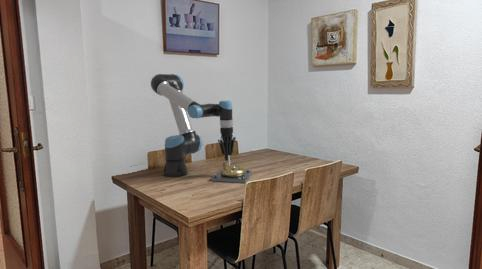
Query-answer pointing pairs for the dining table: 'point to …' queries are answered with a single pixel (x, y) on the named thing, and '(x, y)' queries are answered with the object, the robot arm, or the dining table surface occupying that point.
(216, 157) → the dining table surface
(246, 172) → the plate
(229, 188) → the dining table surface
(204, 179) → the dining table surface
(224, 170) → the three-jaw lathe chuck
